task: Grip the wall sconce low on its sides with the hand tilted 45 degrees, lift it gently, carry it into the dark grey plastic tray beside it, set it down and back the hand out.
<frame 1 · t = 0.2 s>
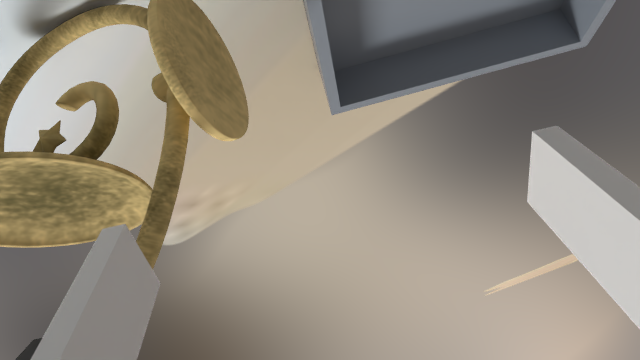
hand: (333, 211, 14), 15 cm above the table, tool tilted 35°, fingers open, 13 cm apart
wall sconce: (83, 12, 23), on the table
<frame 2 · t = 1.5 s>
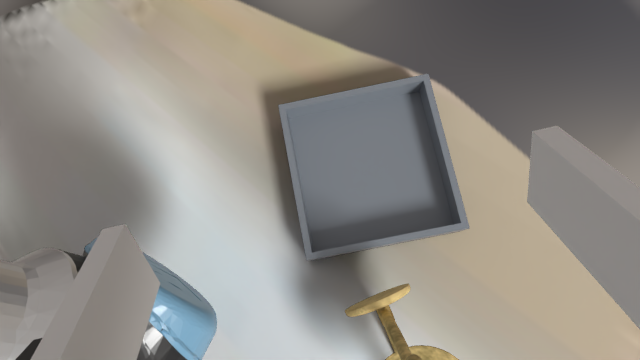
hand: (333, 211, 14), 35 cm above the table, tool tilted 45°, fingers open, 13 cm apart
tray: (368, 171, 50), on the table
wall sconce: (398, 353, 46), on the table
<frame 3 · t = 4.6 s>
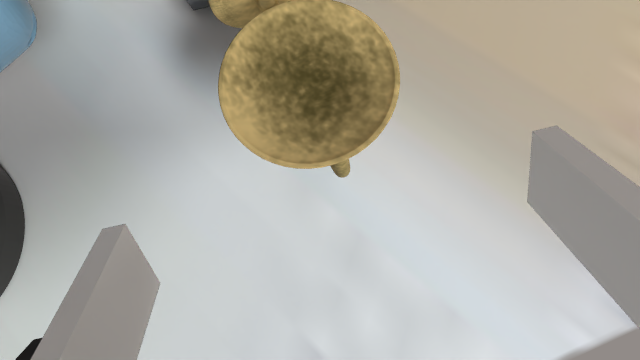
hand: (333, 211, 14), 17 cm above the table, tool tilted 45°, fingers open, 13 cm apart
wall sconce: (311, 116, 33), on the table
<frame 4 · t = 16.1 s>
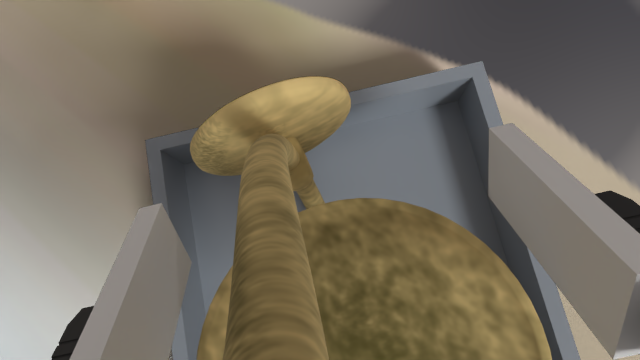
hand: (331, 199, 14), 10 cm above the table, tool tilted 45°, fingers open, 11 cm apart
tray: (351, 277, 23), on the table
wall sconce: (350, 284, 22), point 1 cm above the table, touching tray
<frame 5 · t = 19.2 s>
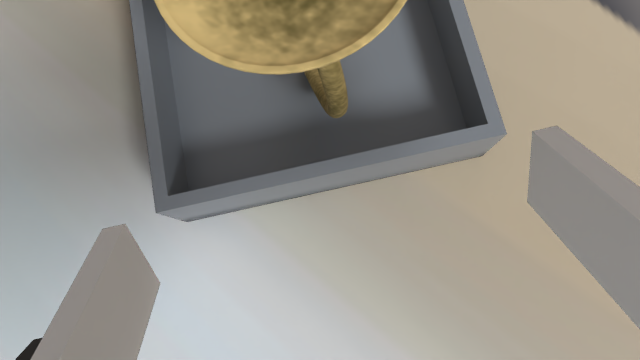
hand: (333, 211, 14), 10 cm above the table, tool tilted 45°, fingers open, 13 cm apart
tray: (302, 52, 26), on the table
wall sconce: (299, 50, 25), point 1 cm above the table, touching tray
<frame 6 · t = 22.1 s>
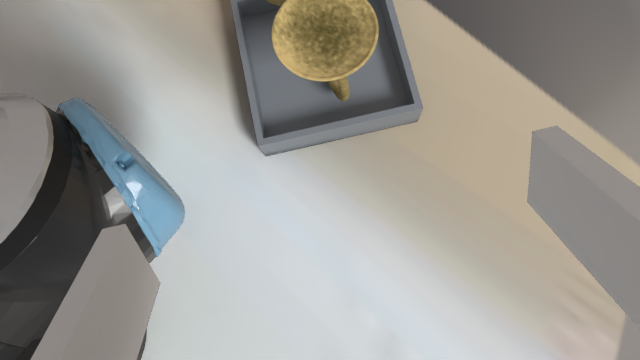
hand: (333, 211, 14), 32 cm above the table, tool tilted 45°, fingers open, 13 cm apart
tray: (324, 67, 49), on the table
wall sconce: (323, 67, 48), point 1 cm above the table, touching tray
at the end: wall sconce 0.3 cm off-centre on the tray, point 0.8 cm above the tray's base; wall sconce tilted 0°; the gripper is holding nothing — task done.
